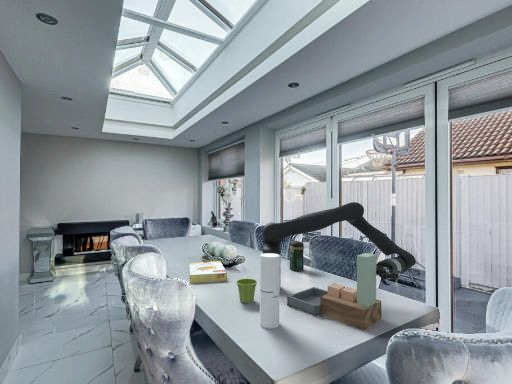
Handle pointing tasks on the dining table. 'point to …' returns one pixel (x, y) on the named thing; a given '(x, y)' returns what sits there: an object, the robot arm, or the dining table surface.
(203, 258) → the cake pan
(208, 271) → the cereal box
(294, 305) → the tray
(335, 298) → the bench
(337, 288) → the tile
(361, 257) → the tall sage green panel
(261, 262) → the cylindrical container
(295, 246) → the coffee jar
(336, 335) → the dining table surface
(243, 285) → the plant pot
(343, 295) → the tile
